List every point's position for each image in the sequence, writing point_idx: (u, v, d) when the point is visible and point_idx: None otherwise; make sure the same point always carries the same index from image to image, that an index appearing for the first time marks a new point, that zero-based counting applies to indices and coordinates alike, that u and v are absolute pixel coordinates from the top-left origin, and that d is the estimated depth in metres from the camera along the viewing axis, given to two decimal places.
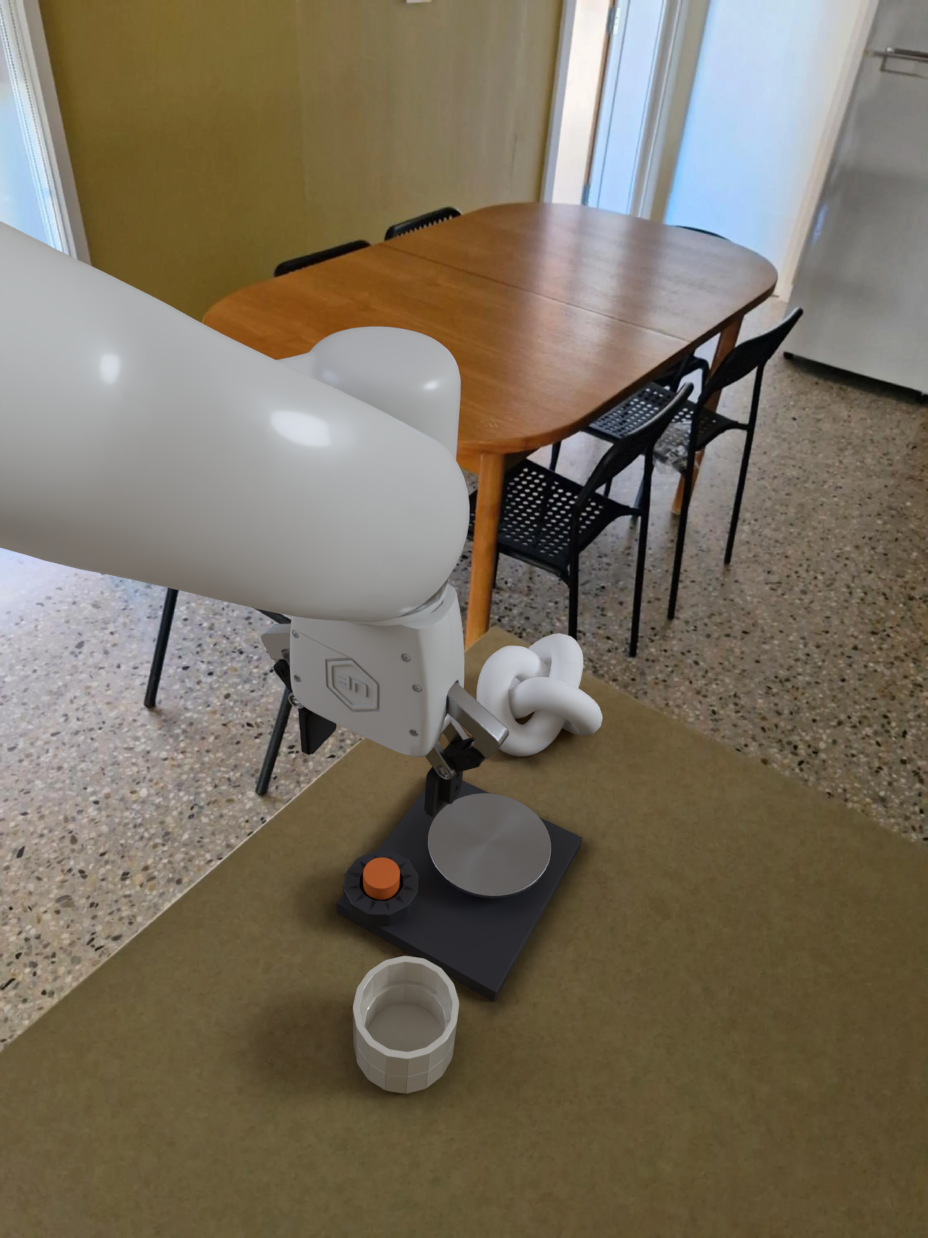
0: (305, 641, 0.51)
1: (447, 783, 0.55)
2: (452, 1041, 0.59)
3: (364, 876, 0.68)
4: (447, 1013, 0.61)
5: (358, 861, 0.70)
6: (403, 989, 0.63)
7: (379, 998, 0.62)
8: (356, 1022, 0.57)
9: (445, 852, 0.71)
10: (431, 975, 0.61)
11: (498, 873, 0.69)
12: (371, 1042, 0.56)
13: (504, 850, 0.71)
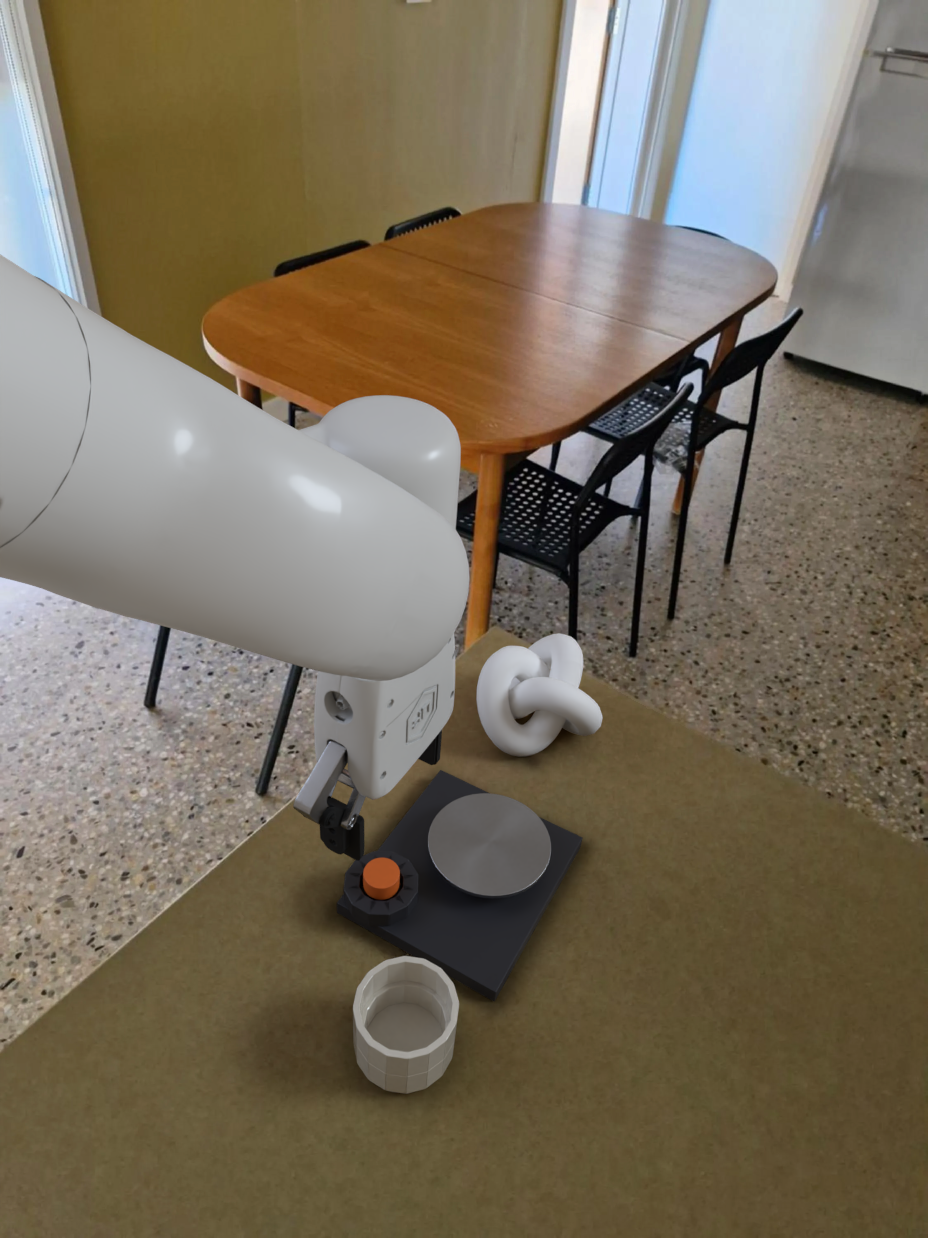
0: (391, 728, 0.52)
1: None
2: (452, 1041, 0.59)
3: (364, 876, 0.68)
4: (447, 1013, 0.61)
5: (358, 861, 0.70)
6: (403, 989, 0.63)
7: (379, 998, 0.62)
8: (356, 1022, 0.57)
9: (445, 852, 0.71)
10: (431, 975, 0.61)
11: (498, 873, 0.69)
12: (371, 1042, 0.56)
13: (504, 850, 0.71)
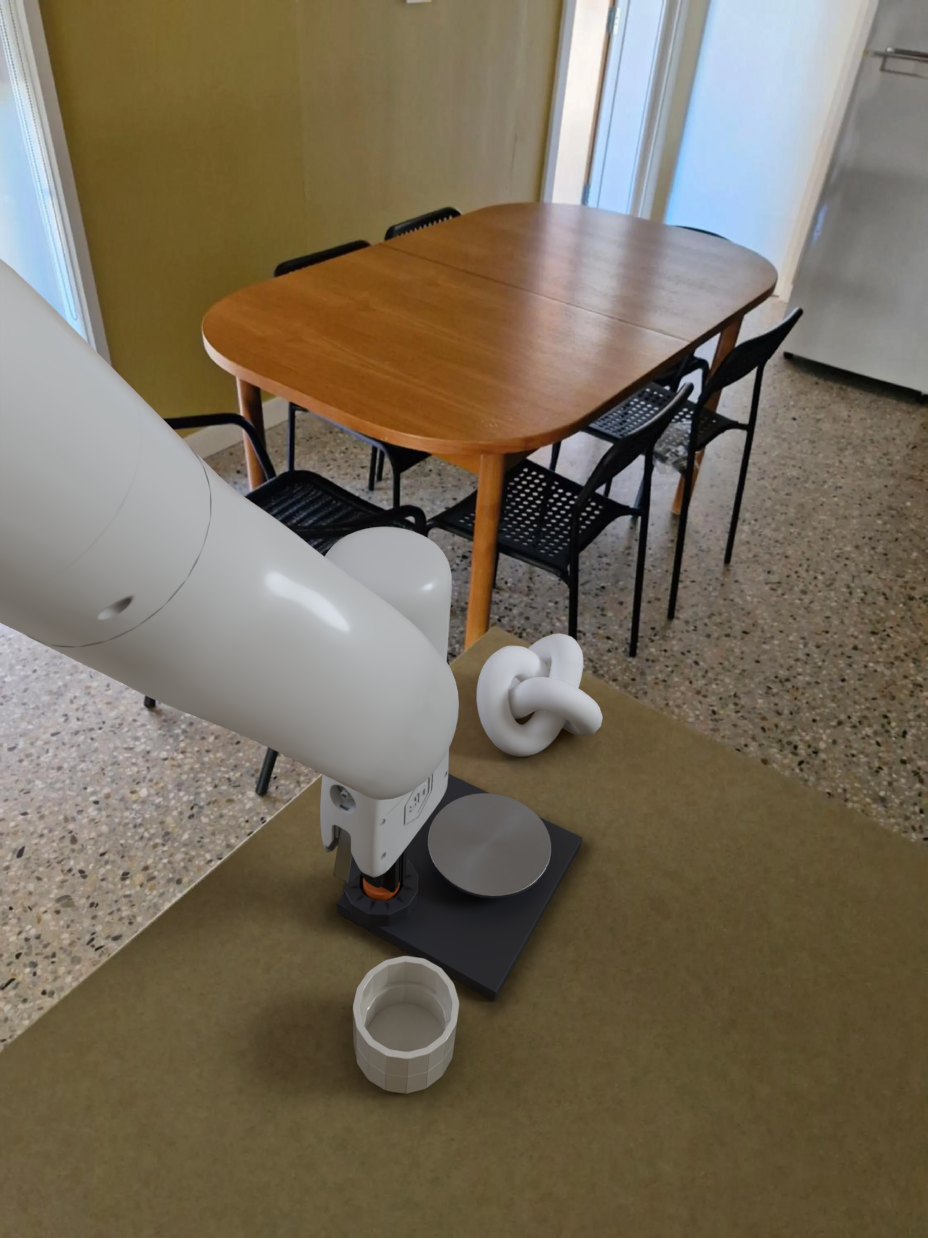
0: (390, 816, 0.57)
1: None
2: (452, 1041, 0.59)
3: (364, 882, 0.68)
4: (447, 1013, 0.61)
5: None
6: (403, 989, 0.63)
7: (379, 998, 0.62)
8: (356, 1022, 0.57)
9: (445, 852, 0.71)
10: (431, 975, 0.61)
11: (498, 873, 0.69)
12: (371, 1042, 0.56)
13: (504, 850, 0.71)
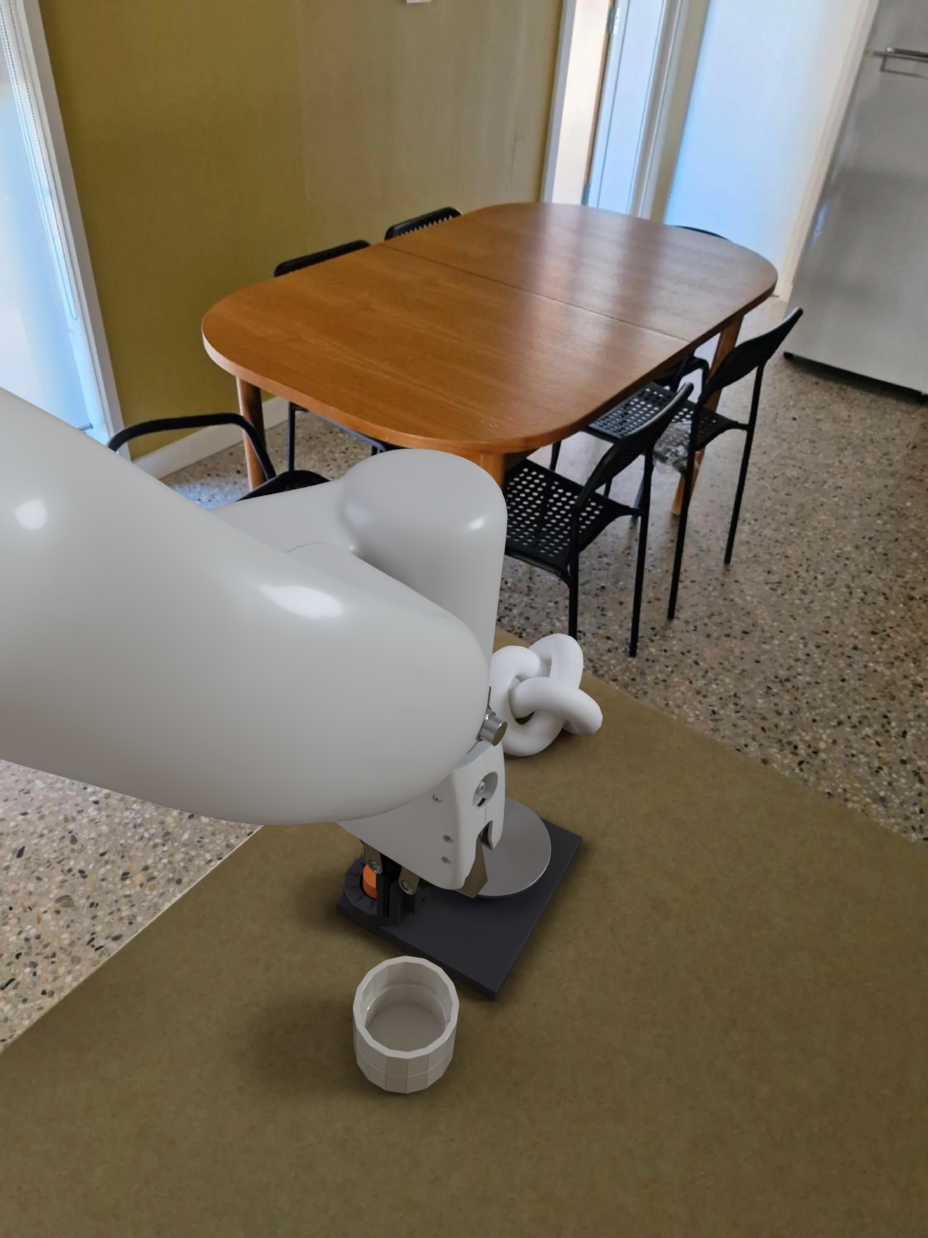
0: None
1: None
2: (452, 1041, 0.59)
3: (364, 876, 0.68)
4: (447, 1013, 0.61)
5: (358, 861, 0.70)
6: (403, 989, 0.63)
7: (379, 998, 0.62)
8: (356, 1022, 0.57)
9: None
10: (431, 975, 0.61)
11: (498, 873, 0.69)
12: (371, 1042, 0.56)
13: (504, 850, 0.71)
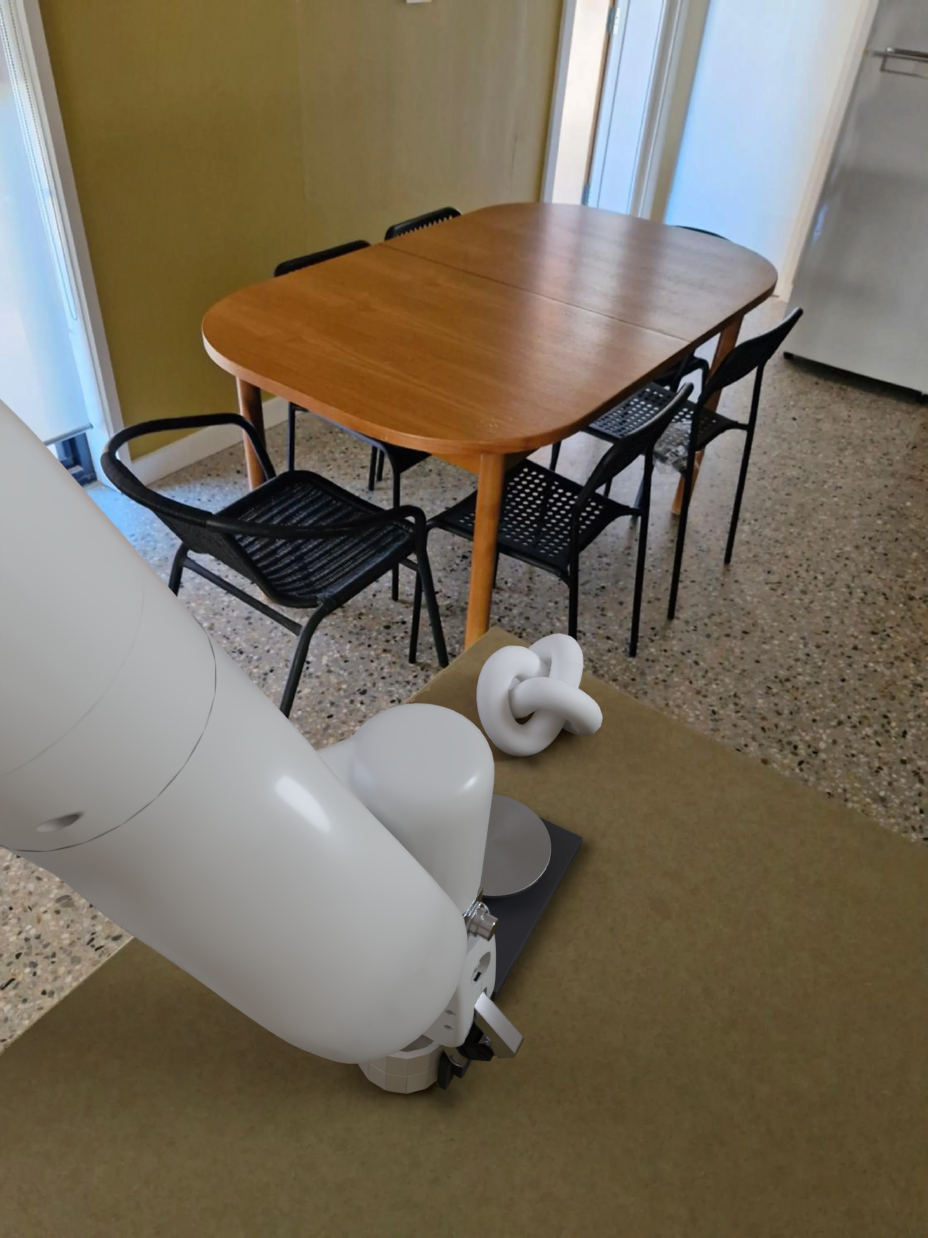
0: None
1: None
2: None
3: None
4: None
5: None
6: None
7: None
8: None
9: None
10: None
11: (498, 873, 0.69)
12: None
13: (504, 850, 0.71)
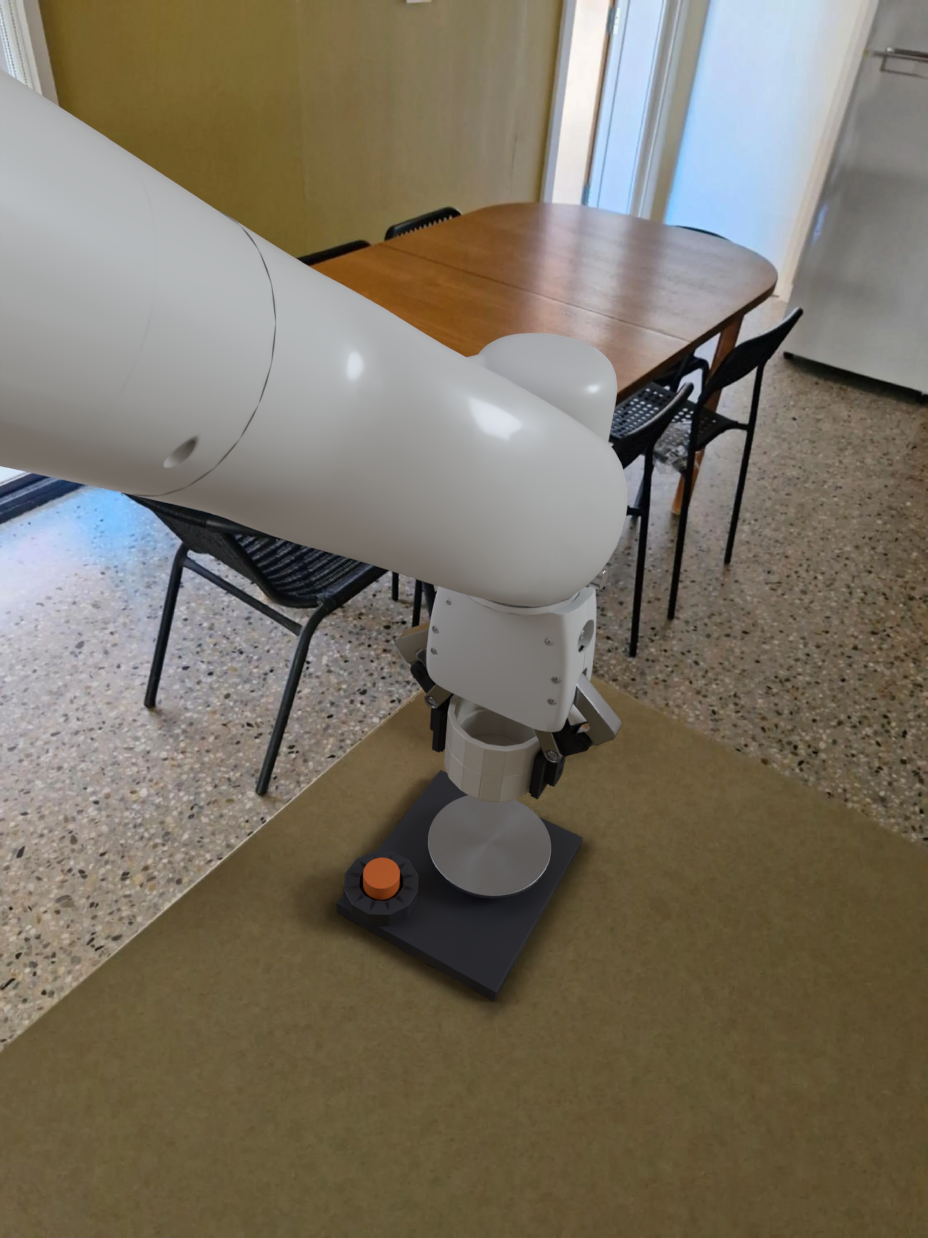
0: None
1: None
2: None
3: (364, 876, 0.68)
4: None
5: (358, 861, 0.70)
6: (491, 715, 0.64)
7: (468, 720, 0.63)
8: (452, 723, 0.58)
9: (445, 852, 0.71)
10: None
11: (498, 873, 0.69)
12: (469, 738, 0.57)
13: (504, 850, 0.71)
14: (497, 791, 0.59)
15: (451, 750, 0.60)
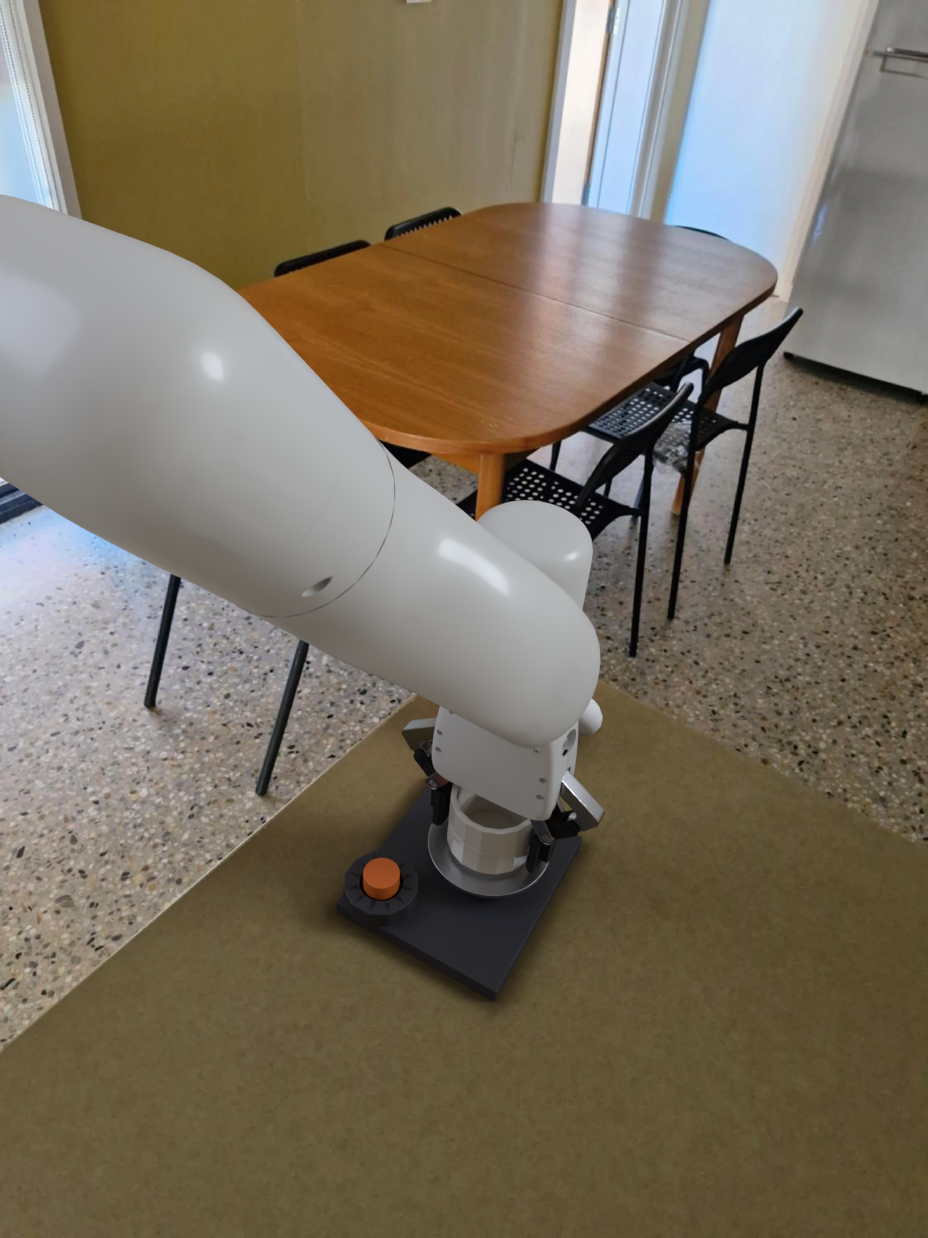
0: None
1: None
2: None
3: (364, 876, 0.68)
4: None
5: (358, 861, 0.70)
6: None
7: (468, 800, 0.71)
8: (454, 808, 0.67)
9: (445, 852, 0.71)
10: None
11: None
12: (469, 822, 0.66)
13: None
14: (493, 866, 0.68)
15: (453, 830, 0.68)
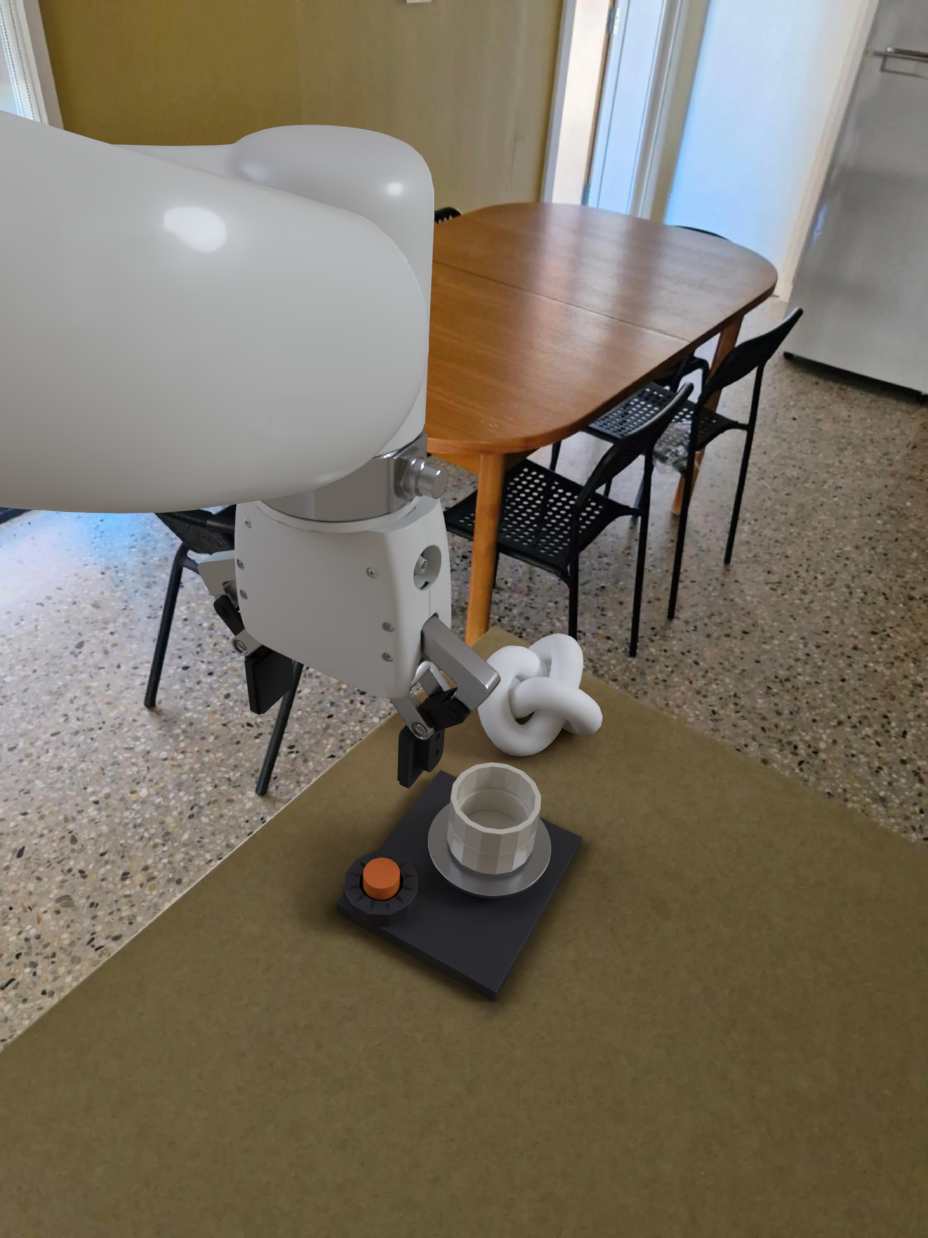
0: None
1: None
2: (535, 829, 0.69)
3: (364, 876, 0.68)
4: (528, 810, 0.70)
5: (358, 861, 0.70)
6: (488, 795, 0.72)
7: (468, 800, 0.71)
8: (454, 808, 0.67)
9: (445, 852, 0.71)
10: (515, 778, 0.71)
11: None
12: (469, 822, 0.66)
13: None
14: (493, 866, 0.68)
15: (453, 830, 0.68)
